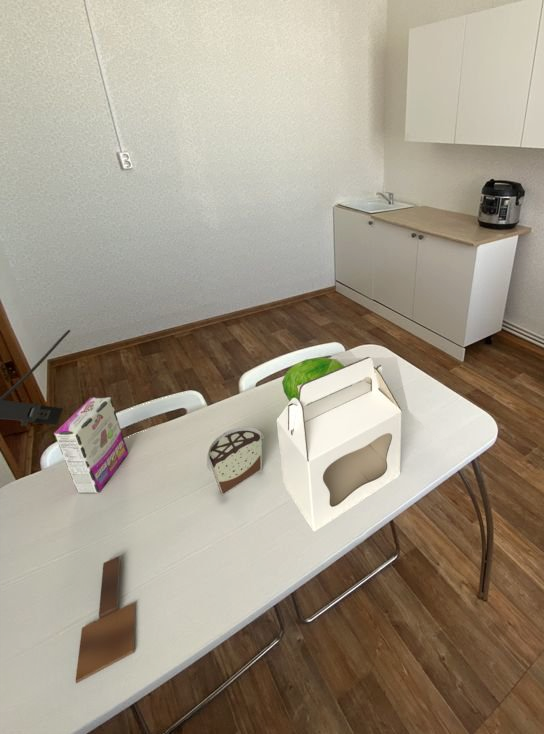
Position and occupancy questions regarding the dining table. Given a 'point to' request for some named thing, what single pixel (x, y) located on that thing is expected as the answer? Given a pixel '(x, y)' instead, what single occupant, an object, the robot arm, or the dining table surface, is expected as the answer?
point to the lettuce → (308, 374)
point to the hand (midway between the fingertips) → (23, 414)
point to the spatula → (107, 627)
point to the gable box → (339, 441)
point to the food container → (235, 457)
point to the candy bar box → (92, 444)
